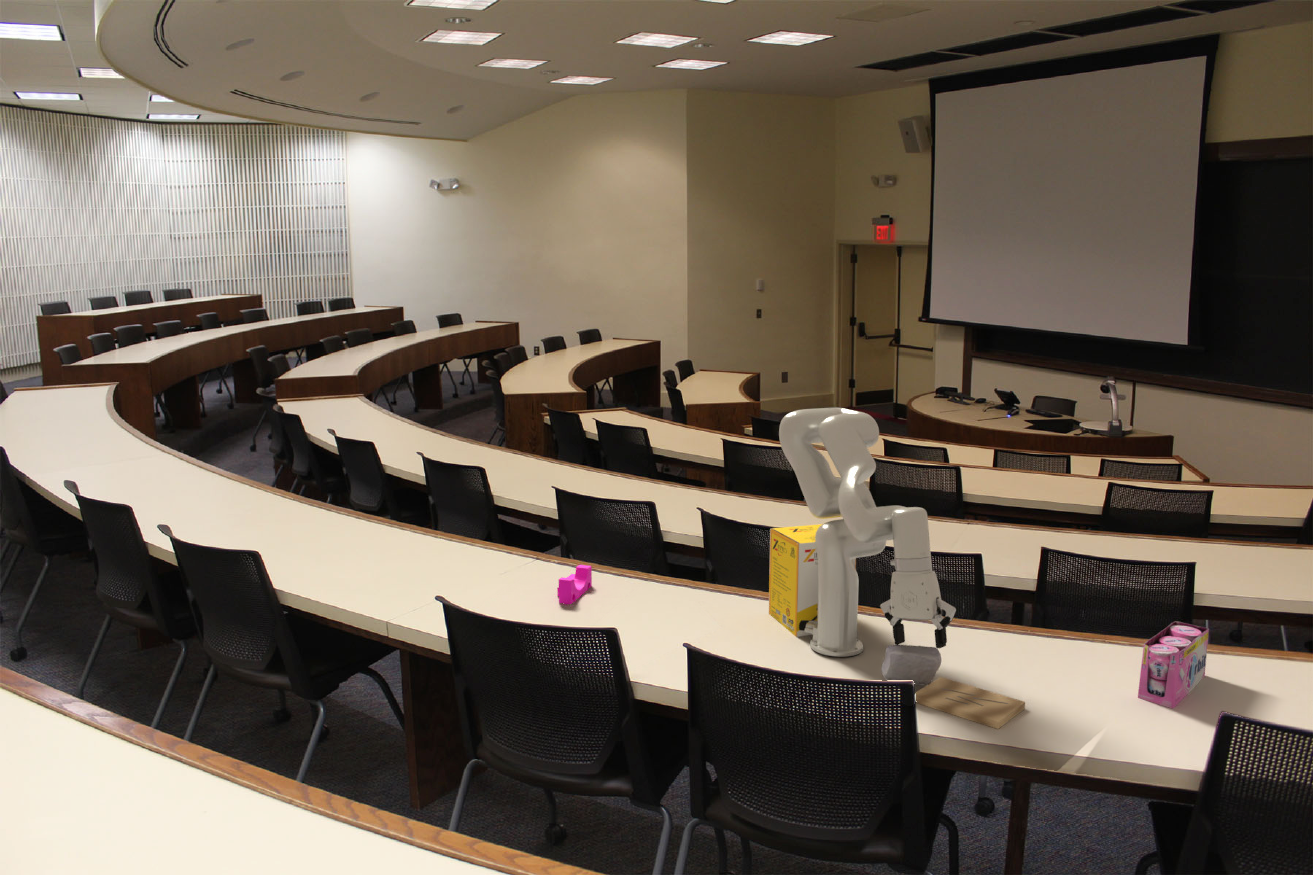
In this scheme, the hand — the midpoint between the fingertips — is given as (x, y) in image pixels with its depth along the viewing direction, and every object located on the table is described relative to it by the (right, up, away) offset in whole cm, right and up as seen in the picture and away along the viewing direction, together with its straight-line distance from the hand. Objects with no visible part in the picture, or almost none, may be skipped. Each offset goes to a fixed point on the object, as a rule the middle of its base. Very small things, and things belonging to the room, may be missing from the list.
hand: (920, 645), depth 205 cm
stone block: (-2, -9, +8) cm, 12 cm away
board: (+9, -12, -3) cm, 15 cm away
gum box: (+56, -11, +4) cm, 57 cm away
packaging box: (-16, -5, +44) cm, 48 cm away
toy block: (-81, -1, +69) cm, 106 cm away
